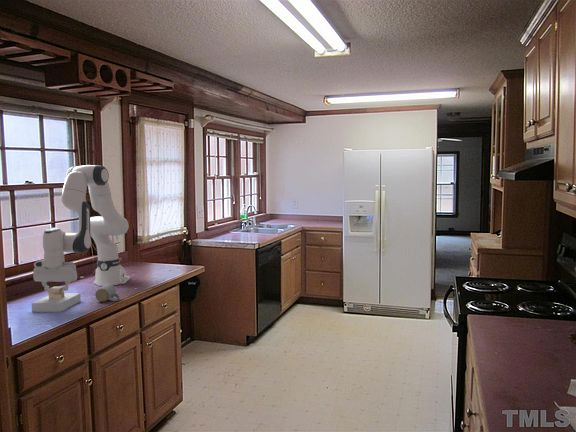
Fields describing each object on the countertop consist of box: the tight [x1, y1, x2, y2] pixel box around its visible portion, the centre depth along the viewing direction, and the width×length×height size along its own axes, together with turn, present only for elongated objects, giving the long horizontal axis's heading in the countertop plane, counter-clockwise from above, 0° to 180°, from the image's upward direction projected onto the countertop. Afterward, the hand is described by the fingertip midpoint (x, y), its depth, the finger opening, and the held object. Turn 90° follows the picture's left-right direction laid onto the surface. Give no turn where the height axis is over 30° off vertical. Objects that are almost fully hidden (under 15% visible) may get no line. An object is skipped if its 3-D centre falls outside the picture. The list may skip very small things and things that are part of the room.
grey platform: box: [31, 292, 82, 313], centre depth 229 cm, size 18×14×4 cm
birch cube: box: [47, 286, 65, 299], centre depth 229 cm, size 5×5×5 cm
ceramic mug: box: [94, 284, 120, 303], centre depth 238 cm, size 11×8×8 cm
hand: (56, 290), depth 229 cm, fingers open, 8 cm apart
